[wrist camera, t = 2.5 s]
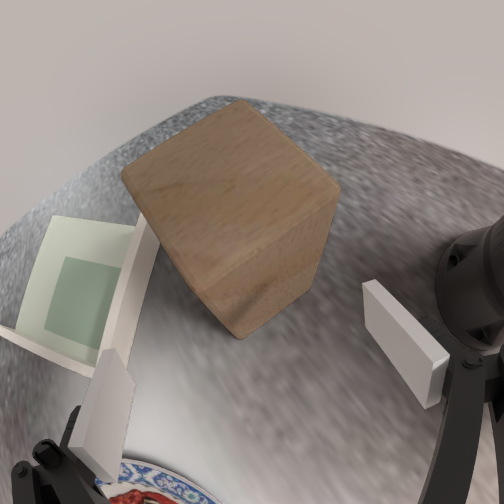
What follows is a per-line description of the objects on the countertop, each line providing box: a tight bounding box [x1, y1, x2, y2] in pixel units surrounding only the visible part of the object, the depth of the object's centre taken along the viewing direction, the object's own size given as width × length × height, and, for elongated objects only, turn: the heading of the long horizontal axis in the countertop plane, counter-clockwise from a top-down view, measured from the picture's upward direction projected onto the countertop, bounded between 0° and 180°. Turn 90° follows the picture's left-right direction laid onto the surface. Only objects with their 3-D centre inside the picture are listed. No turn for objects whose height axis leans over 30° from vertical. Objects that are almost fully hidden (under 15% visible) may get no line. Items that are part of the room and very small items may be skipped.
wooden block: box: [121, 100, 341, 340], centre depth 27 cm, size 10×10×20 cm
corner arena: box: [0, 213, 160, 379], centre depth 35 cm, size 19×19×5 cm
